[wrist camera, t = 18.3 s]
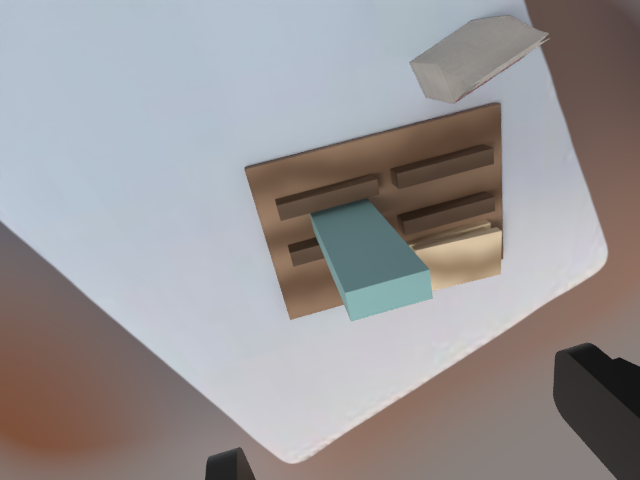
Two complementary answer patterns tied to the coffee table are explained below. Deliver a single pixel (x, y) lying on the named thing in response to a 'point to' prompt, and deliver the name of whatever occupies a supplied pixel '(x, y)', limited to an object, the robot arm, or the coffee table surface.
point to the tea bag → (473, 56)
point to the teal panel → (369, 260)
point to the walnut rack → (378, 192)
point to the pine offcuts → (460, 254)
